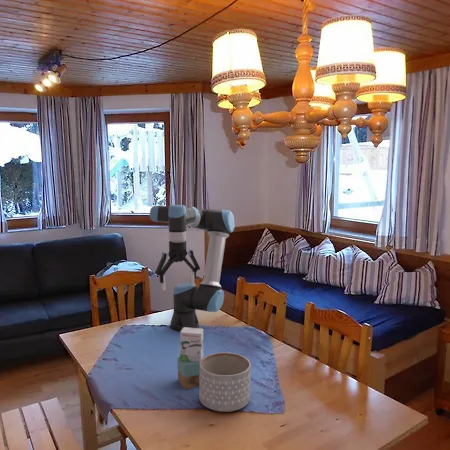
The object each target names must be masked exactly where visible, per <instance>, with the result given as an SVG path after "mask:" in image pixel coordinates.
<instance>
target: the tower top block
mask: <svg viewBox="0 0 450 450" xmlns="http://www.w3.org/2000/svg"><path fill="white" fill-rule="evenodd" d="M199 363H200V362H194V361H181V360H180V355H179V356H177V371H178V370H179V371H180V373H181V374H182V375H183V377H184V378H186V377H191V376H195V375H199Z"/></svg>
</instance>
